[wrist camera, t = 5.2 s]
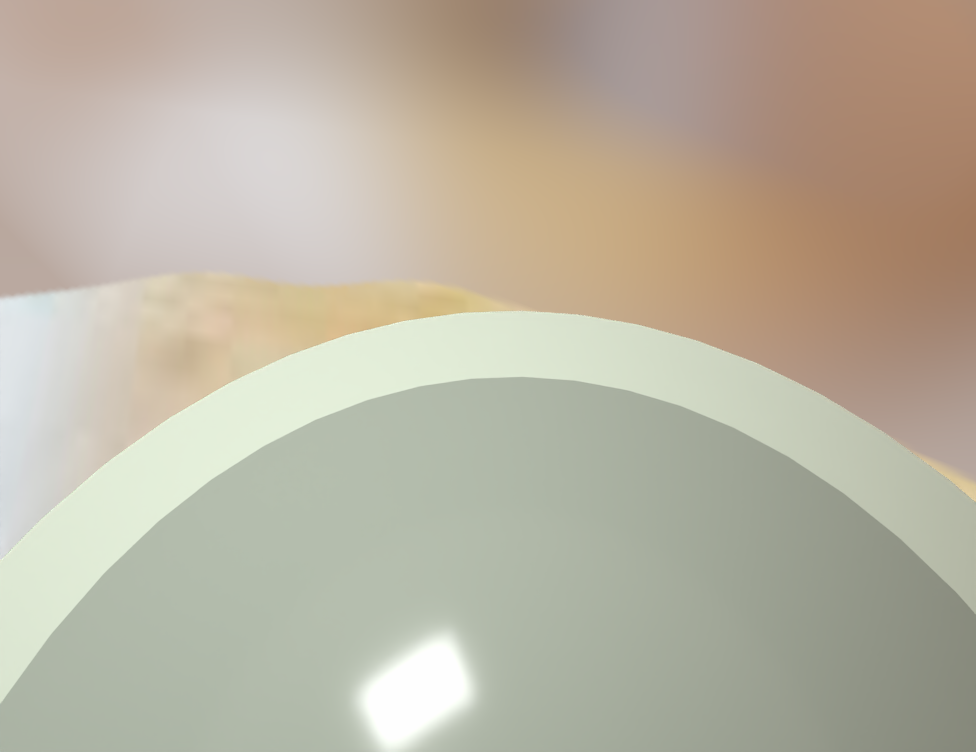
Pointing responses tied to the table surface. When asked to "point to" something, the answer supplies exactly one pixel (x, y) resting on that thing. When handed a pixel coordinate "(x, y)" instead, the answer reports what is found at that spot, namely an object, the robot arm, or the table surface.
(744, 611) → the domed cap cylinder
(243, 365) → the table surface
